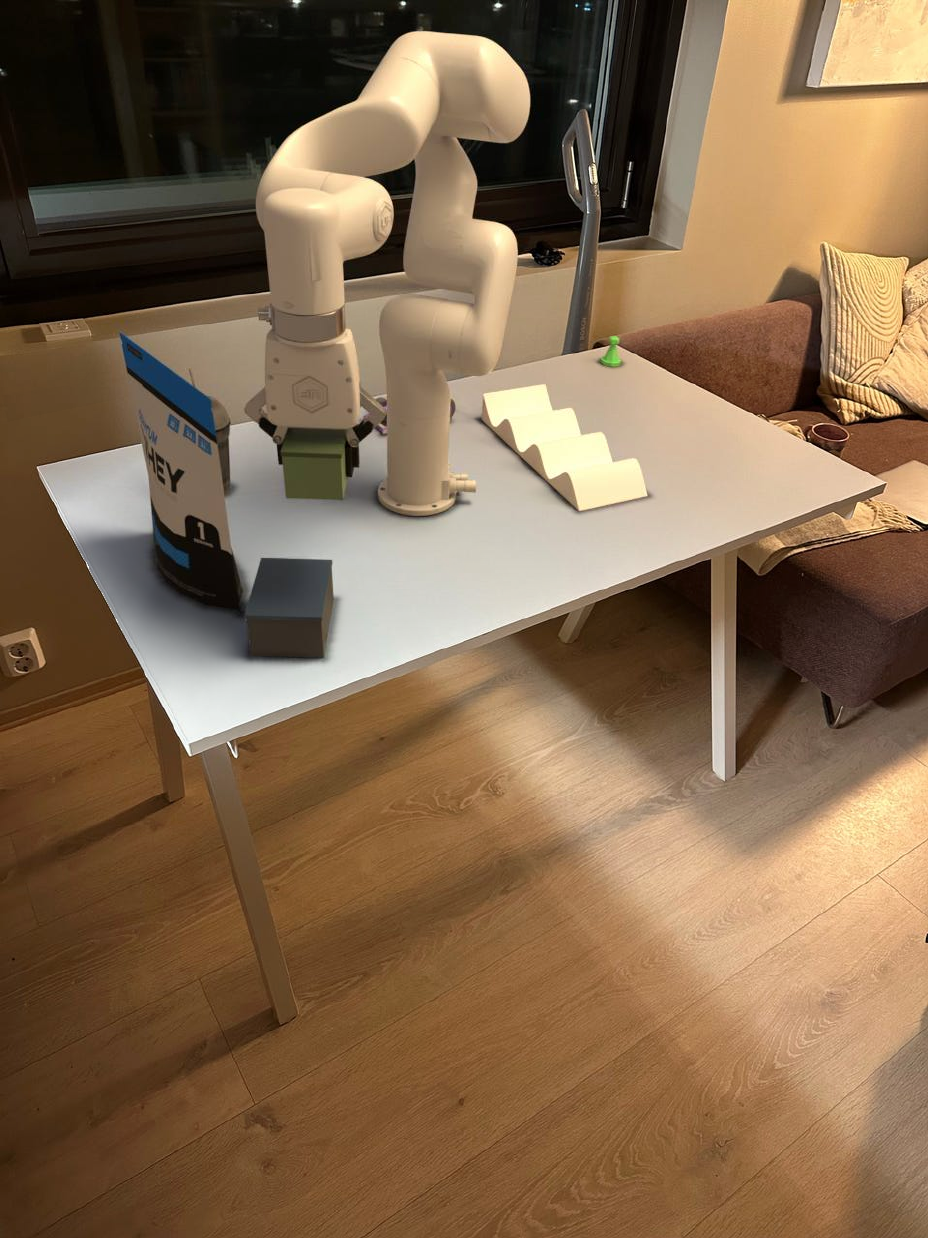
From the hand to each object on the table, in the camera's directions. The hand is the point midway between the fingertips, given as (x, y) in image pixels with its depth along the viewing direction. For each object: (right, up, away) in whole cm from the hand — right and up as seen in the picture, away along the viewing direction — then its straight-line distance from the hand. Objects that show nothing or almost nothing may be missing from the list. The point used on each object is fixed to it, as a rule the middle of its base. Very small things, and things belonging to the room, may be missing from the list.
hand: (319, 469), depth 103 cm
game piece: (+48, +37, +86) cm, 105 cm away
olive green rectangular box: (0, -1, +1) cm, 1 cm away
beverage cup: (-23, +3, +36) cm, 43 cm away
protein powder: (-20, -11, +19) cm, 30 cm away
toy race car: (+6, +19, +60) cm, 63 cm away
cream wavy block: (+34, +11, +51) cm, 62 cm away
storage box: (-5, -19, +10) cm, 22 cm away
